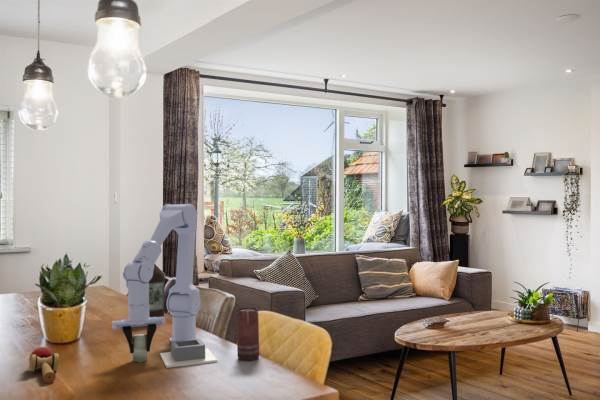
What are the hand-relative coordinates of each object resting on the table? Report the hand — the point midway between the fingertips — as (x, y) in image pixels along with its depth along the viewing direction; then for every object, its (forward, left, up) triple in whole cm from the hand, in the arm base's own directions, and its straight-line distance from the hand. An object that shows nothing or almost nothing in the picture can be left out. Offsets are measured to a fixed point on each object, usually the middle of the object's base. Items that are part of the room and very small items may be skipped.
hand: (139, 351), depth 170 cm
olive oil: (-56, +9, -3) cm, 57 cm away
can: (+11, +29, -3) cm, 31 cm away
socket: (+4, +13, -2) cm, 14 cm away
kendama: (+3, -25, -3) cm, 25 cm away
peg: (0, 0, -2) cm, 2 cm away
